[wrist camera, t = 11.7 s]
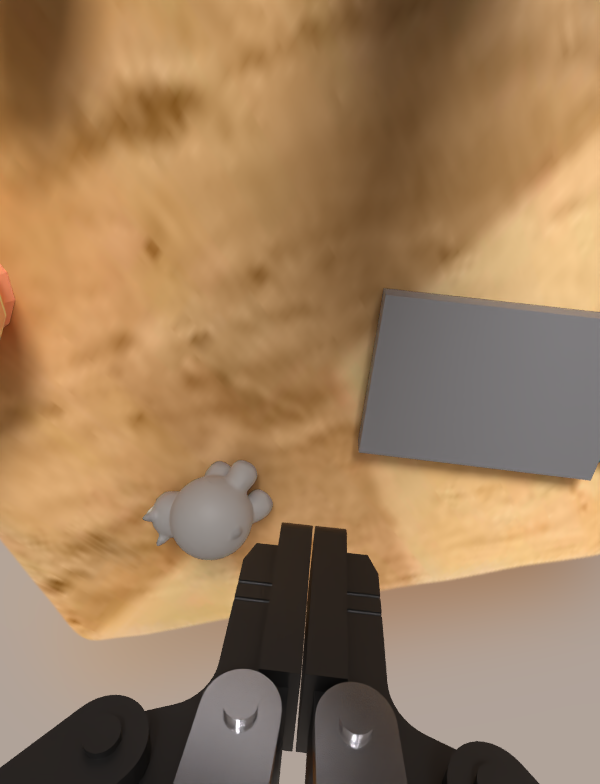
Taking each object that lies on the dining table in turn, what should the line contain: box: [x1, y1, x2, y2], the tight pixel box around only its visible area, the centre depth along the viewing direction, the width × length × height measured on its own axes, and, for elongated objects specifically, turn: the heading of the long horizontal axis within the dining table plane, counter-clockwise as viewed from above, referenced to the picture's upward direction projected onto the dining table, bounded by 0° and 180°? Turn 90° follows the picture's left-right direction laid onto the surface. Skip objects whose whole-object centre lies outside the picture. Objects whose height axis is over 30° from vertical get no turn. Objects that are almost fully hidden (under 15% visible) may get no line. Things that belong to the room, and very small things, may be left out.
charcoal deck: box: [358, 288, 600, 480], centre depth 41 cm, size 14×20×2 cm
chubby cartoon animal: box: [143, 460, 273, 560], centre depth 45 cm, size 7×12×8 cm, turn 108°
